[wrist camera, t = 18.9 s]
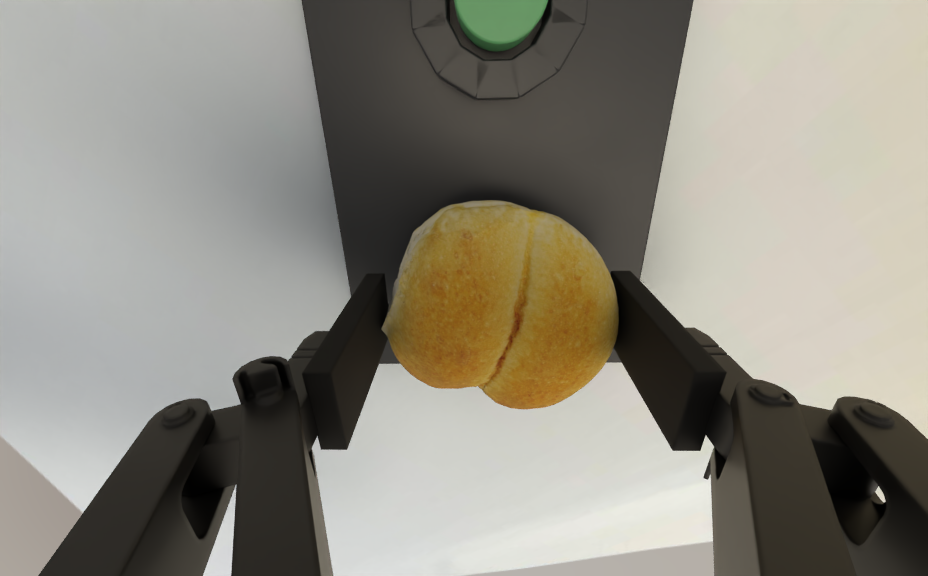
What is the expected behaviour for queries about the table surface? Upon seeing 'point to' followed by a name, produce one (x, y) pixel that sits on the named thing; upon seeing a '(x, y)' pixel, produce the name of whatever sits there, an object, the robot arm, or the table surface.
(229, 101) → the table surface
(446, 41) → the scale
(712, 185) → the table surface
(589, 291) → the bread roll
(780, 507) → the robot arm
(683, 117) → the table surface
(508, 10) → the button
